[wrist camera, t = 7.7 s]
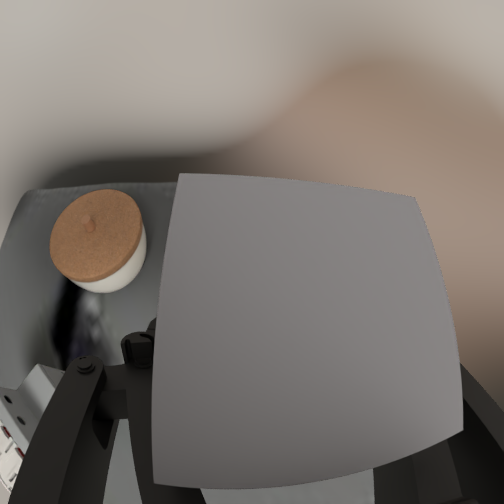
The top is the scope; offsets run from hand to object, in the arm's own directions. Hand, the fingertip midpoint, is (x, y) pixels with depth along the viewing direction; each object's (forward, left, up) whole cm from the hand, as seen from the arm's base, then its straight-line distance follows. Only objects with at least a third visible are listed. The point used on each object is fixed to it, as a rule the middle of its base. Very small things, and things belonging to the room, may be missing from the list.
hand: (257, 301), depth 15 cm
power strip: (+2, -3, -6) cm, 7 cm away
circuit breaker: (-8, -22, -20) cm, 30 cm away
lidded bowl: (-21, -3, -20) cm, 29 cm away
